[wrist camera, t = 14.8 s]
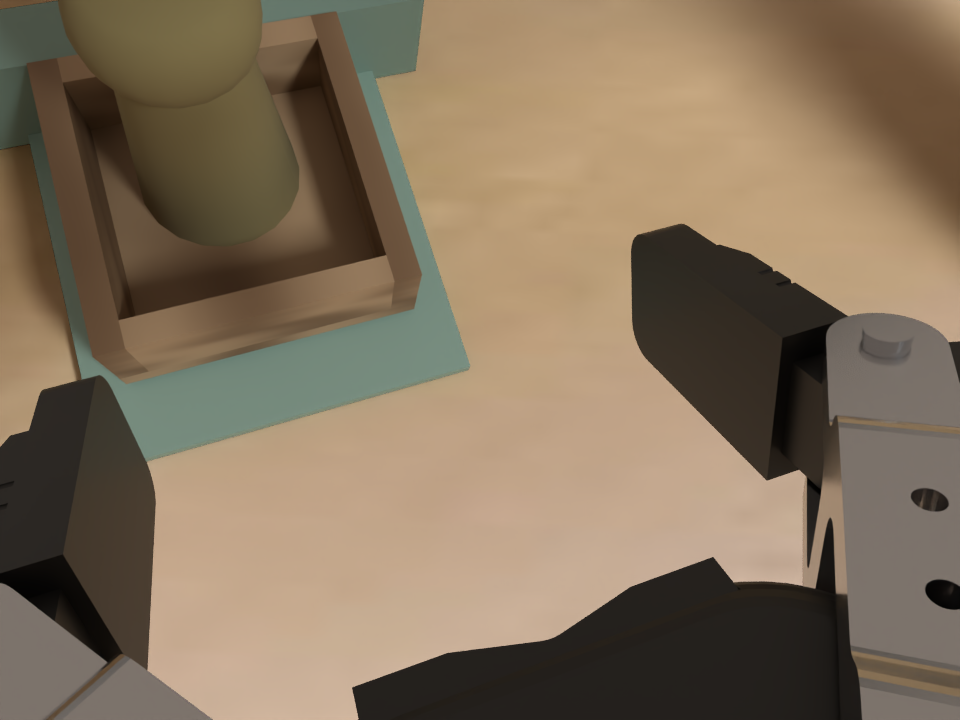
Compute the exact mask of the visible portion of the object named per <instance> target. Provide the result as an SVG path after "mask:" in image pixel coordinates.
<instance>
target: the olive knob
mask: <svg viewBox="0 0 960 720" xmlns="http://www.w3.org/2000/svg"><path fill="white" fill-rule="evenodd" d="M58 6H59V11H60V15H61V18H62V22H63V26H64V29H65V33H66V36H67V38H68V39H69V41H70V43H71V45H72V46H73V48H74V50H75V51H76V53H77V54H78V55H79V57H80V58H81V59H82V61H83V62H84V63H85V65H86V66H87V67H88V69H89V70H90V72H91V73H93V74H94V75H95V76H96V77H97V78H98V79H99V80H100V81H102V82H103V83H104V84H106V85H107V86H109V87H110V88H111V89H113V90H114V93H115V97H116V100H117V104H118V108H119V112H120V115H121V119H122V123H123V127H124V130H125V134H126V138H127V141H128V145H129V149H130V153H131V156H132V160H133V164H134V167H135V171H136V175H137V179H138V182H139V186H140V189H141V193H142V196H143V200H144V204H145V205H146V207H147V208H148V209H149V211H150V212H151V214H152V215H153V216H154V218H155V219H156V220H157V222H158V223H159V224H160V225H162V226H163V227H164V228H166V229H167V230H169V231H170V232H172V233H173V234H174V235H176V236H177V237H179V238H181V239H184V240H187V241H190V242H194V243H197V244H200V245H203V246H233V245H237V244H241V243H245V242H249V241H253V240H255V239H257V238H258V237H260V236H262V235H263V234H265V233H267V232H268V231H270V230H272V229H273V228H275V227H276V226H277V225H278V224H279V222H280V221H281V220H282V219H283V218H284V217H285V216H286V214H287V213H288V212H289V211H290V210H291V207H292V205H293V202H294V200H295V198H296V195H297V193H298V190H299V165H298V162H297V159H296V156H295V153H294V150H293V147H292V144H291V142H290V139H289V137H288V135H287V132H286V130H285V127H284V125H283V123H282V120H281V118H280V115H279V113H278V110H277V108H276V106H275V103H274V101H273V98H272V96H271V94H270V91H269V89H268V86H267V84H266V82H265V79H264V77H263V74H262V72H261V69H260V67H259V65H258V62H257V60H256V56H257V54H258V51H259V47H260V43H261V39H262V18H263V13H262V6H261V0H58Z"/></svg>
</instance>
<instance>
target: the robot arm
mask: <svg viewBox="0 0 960 720" xmlns="http://www.w3.org/2000/svg"><path fill="white" fill-rule="evenodd" d="M631 272H632V323H633V330H634V335H635V338H636V341H637V344H638V346H639V348H640V350H641V352H642V354H643V355H644V357H645V358H646V359H647V360H648V361H649V362H650V363H651V364H652V365H653V366H654V367H655V368H656V369H657V370H658V371H659V372H660V373H661V374H662V375H663V376H664V377H665V378H666V379H667V380H668V381H669V382H670V383H671V384H672V385H673V386H674V387H675V388H676V389H677V390H678V391H679V392H680V393H681V394H682V395H683V396H684V397H685V398H686V399H687V400H688V401H689V402H690V404H691V405H692V406H693V407H694V408H695V409H696V410H697V411H698V412H699V413H700V414H701V415H702V416H703V417H704V418H705V419H706V420H707V421H708V422H709V423H710V424H711V425H712V426H713V427H714V428H715V429H716V430H717V431H718V432H719V433H720V434H721V435H722V436H723V437H724V438H725V439H726V440H727V441H728V442H729V443H730V444H731V445H732V446H733V447H734V448H735V449H736V450H737V451H738V452H739V453H740V454H741V455H742V456H743V457H744V458H745V459H746V460H747V461H748V462H749V463H750V464H751V465H752V466H753V467H754V468H755V469H756V470H757V471H758V472H759V473H760V474H761V475H762V476H763V477H764V478H765V479H766V480H770V479H773V478H776V477H779V476H782V475H785V474H788V473H790V472H793V471H796V470H800V471H801V472H802V473H803V474H804V475H805V476H806V478H805V485H804V491H803V586H799V585H794V584H788V583H777V582H734V583H733V581H732V580H731V579H730V578H729V576H728V575H727V574H726V572H725V571H724V570H723V569H722V567H721V566H720V565H719V564H718V562H717V561H716V560H715V559H714V557H712V558H709V559H706V560H704V561H701V562H698V563H695V564H693V565H690V566H687V567H684V568H682V569H679V570H676V571H673V572H671V573H668V574H665V575H662V576H659V577H657V578H654V579H651V580H648V581H646V582H643V583H640V584H637V585H635V586H632V587H630V588H628V589H627V590H625V591H624V592H622V593H621V594H620V595H618V596H617V597H615V598H614V599H612V600H611V601H609V602H608V603H606V604H605V605H603V606H602V607H600V608H599V609H597V610H596V611H594V612H593V613H591V614H590V615H588V616H587V617H585V618H584V619H582V620H581V621H579V622H578V623H576V624H575V625H573V626H572V627H570V628H569V629H567V630H566V631H564V632H563V633H561V634H560V635H558V636H556V637H554V638H552V639H549V640H545V641H539V642H531V643H523V644H516V645H508V646H500V647H492V648H484V649H476V650H468V651H460V652H452V653H446V654H444V655H441V656H438V657H435V658H433V659H430V660H427V661H424V662H422V663H419V664H416V665H413V666H410V667H408V668H405V669H402V670H399V671H397V672H394V673H391V674H388V675H386V676H383V677H380V678H377V679H375V680H372V681H369V682H366V683H363V684H361V685H358V686H355V687H352V689H353V694H354V699H355V703H356V708H357V713H358V718H359V719H358V720H960V341H959V342H948V341H947V339H946V338H945V337H944V336H943V335H942V334H941V333H940V332H939V331H938V330H936V329H935V328H933V327H931V326H930V325H928V324H925V323H923V322H921V321H918V320H915V319H912V318H909V317H905V316H900V315H894V314H885V313H865V314H857V315H852V316H847V315H845V314H844V313H842V312H840V311H839V310H837V309H836V308H834V307H833V306H831V305H830V304H828V303H826V302H825V301H823V300H822V299H820V298H819V297H817V296H815V295H814V294H812V293H811V292H809V291H808V290H806V289H804V288H803V287H801V286H800V285H798V284H797V283H791V280H790V279H789V278H787V277H786V276H784V275H783V274H781V273H779V272H778V271H774V272H773V269H772V267H770V266H768V265H767V264H765V263H764V262H762V261H761V260H759V259H757V258H756V257H754V256H753V255H751V254H749V253H746V252H742V251H739V250H736V249H732V248H729V247H726V246H722V245H716V244H714V243H713V242H711V241H710V240H708V239H707V238H705V237H703V236H702V235H700V234H699V233H697V232H696V231H694V230H693V229H691V228H690V227H688V226H687V225H685V224H677V225H674V226H670V227H666V228H662V229H658V230H655V231H651V232H647V233H643V234H639V235H637V236H636V237H635V238H634V240H633V243H632V248H631ZM155 505H156V500H155V491H154V485H153V481H152V477H151V474H150V471H149V468H148V465H147V462H146V460H145V458H144V456H143V454H142V452H141V449H140V447H139V445H138V443H137V441H136V439H135V437H134V435H133V433H132V430H131V428H130V426H129V424H128V422H127V420H126V418H125V416H124V414H123V411H122V409H121V407H120V405H119V403H118V401H117V399H116V397H115V395H114V392H113V390H112V389H111V387H110V385H109V383H108V382H107V380H106V379H105V378H104V377H103V376H101V375H97V376H94V377H90V378H86V379H82V380H78V381H75V382H71V383H67V384H63V385H59V386H56V387H52V388H48V389H44V390H42V391H41V393H40V395H39V398H38V402H37V405H36V409H35V412H34V416H33V419H32V422H31V426H30V429H29V431H26V432H22V433H19V434H15V435H11V436H10V437H9V438H8V439H7V440H6V441H5V442H4V443H3V445H2V446H1V447H0V720H213V719H211V718H210V717H209V716H207V715H206V714H205V713H203V712H202V711H200V710H199V709H198V708H196V707H195V706H194V705H192V704H191V703H190V702H188V701H187V700H186V699H184V698H183V697H182V696H180V695H179V694H178V693H176V692H175V691H174V690H172V689H171V688H170V687H168V686H167V685H166V684H164V683H163V682H162V681H160V680H159V679H158V678H156V677H155V676H154V675H152V674H151V673H150V672H148V671H147V667H148V646H149V626H150V606H151V586H152V566H153V546H154V525H155Z"/></svg>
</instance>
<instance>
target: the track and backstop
mask: <svg viewBox="0 0 960 720" xmlns="http://www.w3.org/2000/svg"><path fill="white" fill-rule="evenodd" d="M423 4H424V0H261V6H262V13H263V18H262V24H263V23H269V22H275V21H281V20H287V19H293V18H299V17H305V16H311V15H317V14H323V13H329V12H335V11H337V15H338V18H339V21H340V24H341V27H342V30H343V33H344V36H345V39H346V42H347V45H348V48H349V51H350V54H351V58H352V61H353V64H354V67H355V70H356V73H357V76H358V79H359V82H360V85H361V88H362V91H363V94H364V97H365V101H366V104H367V107H368V110H369V113H370V116H371V119H372V122H373V125H374V128H375V131H376V134H377V137H378V140H379V144H380V147H381V150H382V153H383V156H384V159H385V162H386V165H387V168H388V171H389V174H390V177H391V180H392V183H393V187H394V190H395V193H396V196H397V199H398V202H399V205H400V208H401V211H402V214H403V217H404V220H405V223H406V226H407V229H408V233H409V236H410V239H411V242H412V245H413V248H414V251H415V254H416V257H417V260H418V263H419V266H420V269H421V272H422V277H421V281H420V285H419V290H418V294H417V299H416V303H415V307H414V309H412V310H408V311H404V312H401V313H397V314H393V315H389V316H385V317H382V318H378V319H374V320H370V321H366V322H362V323H359V324H355V325H351V326H347V327H343V328H339V329H336V330H332V331H328V332H324V333H320V334H317V335H313V336H309V337H305V338H301V339H297V340H294V341H290V342H286V343H282V344H278V345H274V346H271V347H267V348H263V349H259V350H255V351H252V352H248V353H244V354H240V355H236V356H232V357H229V358H225V359H221V360H217V361H213V362H209V363H206V364H202V365H198V366H194V367H190V368H187V369H183V370H179V371H175V372H171V373H167V374H164V375H160V376H156V377H152V378H148V379H144V380H141V381H137V382H133V383H129V384H125V383H124V382H123V381H122V380H120V379H119V378H118V377H117V376H115V375H114V374H113V373H112V372H111V371H109V370H108V369H107V368H106V367H104V366H103V365H102V364H101V363H99V362H98V361H97V360H96V359H94V358H93V357H92V352H91V348H90V343H89V339H88V334H87V330H86V326H85V321H84V317H83V312H82V308H81V303H80V299H79V295H78V290H77V286H76V281H75V277H74V272H73V268H72V264H71V259H70V255H69V250H68V246H67V241H66V237H65V233H64V228H63V224H62V219H61V215H60V210H59V206H58V202H57V197H56V193H55V188H54V184H53V179H52V175H51V171H50V166H49V162H48V157H47V153H46V148H45V144H44V139H43V135H42V131H41V126H40V122H39V117H38V113H37V108H36V104H35V100H34V95H33V91H32V86H31V82H30V77H29V73H28V69H27V64H26V63H30V62H36V61H42V60H48V59H54V58H60V57H66V56H72V55H78V54H77V53H76V51H75V50H74V48H73V46H72V45H71V43H70V41H69V39H68V38H67V36H66V33H65V29H64V26H63V22H62V18H61V15H60V11H59V6H58V1H52V2H46V3H39V4H33V5H26V6H19V7H13V8H6V9H0V149H5V148H10V147H15V146H21V145H26V144H30V147H31V151H32V156H33V160H34V165H35V169H36V174H37V178H38V183H39V188H40V192H41V197H42V201H43V206H44V210H45V215H46V219H47V224H48V228H49V233H50V237H51V242H52V246H53V251H54V255H55V260H56V264H57V269H58V273H59V278H60V282H61V287H62V291H63V296H64V300H65V305H66V310H67V314H68V319H69V323H70V328H71V332H72V337H73V341H74V346H75V350H76V355H77V359H78V364H79V368H80V373H81V377H82V379H86V378H90V377H94V376H97V375H101V376H103V377H104V378H105V379H106V380H107V382H108V383H109V385H110V387H111V389H112V390H113V392H114V395H115V397H116V399H117V401H118V403H119V405H120V407H121V409H122V411H123V414H124V416H125V418H126V420H127V422H128V424H129V426H130V428H131V430H132V433H133V435H134V437H135V439H136V441H137V443H138V445H139V447H140V449H141V452H142V454H143V456H144V458H145V460H146V462H147V461H150V460H154V459H157V458H161V457H164V456H168V455H171V454H175V453H178V452H182V451H185V450H189V449H192V448H196V447H199V446H203V445H206V444H210V443H213V442H217V441H220V440H224V439H227V438H231V437H234V436H238V435H241V434H245V433H248V432H252V431H256V430H259V429H263V428H266V427H270V426H273V425H277V424H280V423H284V422H287V421H291V420H294V419H298V418H301V417H305V416H308V415H312V414H315V413H319V412H322V411H326V410H329V409H333V408H336V407H340V406H343V405H347V404H350V403H354V402H357V401H361V400H364V399H368V398H371V397H375V396H378V395H382V394H386V393H389V392H393V391H396V390H400V389H403V388H407V387H410V386H414V385H417V384H421V383H424V382H428V381H431V380H435V379H438V378H442V377H445V376H449V375H452V374H456V373H459V372H463V371H466V370H468V369H469V368H470V364H469V361H468V358H467V355H466V352H465V349H464V346H463V343H462V340H461V337H460V334H459V331H458V328H457V325H456V322H455V319H454V316H453V313H452V310H451V307H450V304H449V301H448V298H447V295H446V291H445V288H444V285H443V282H442V279H441V276H440V273H439V270H438V267H437V264H436V261H435V258H434V255H433V252H432V249H431V246H430V243H429V240H428V237H427V234H426V231H425V228H424V225H423V222H422V219H421V216H420V213H419V210H418V207H417V204H416V201H415V198H414V195H413V192H412V189H411V186H410V183H409V180H408V177H407V174H406V171H405V168H404V164H403V161H402V158H401V155H400V152H399V149H398V146H397V143H396V140H395V137H394V134H393V131H392V128H391V125H390V122H389V119H388V116H387V113H386V110H385V107H384V104H383V101H382V98H381V95H380V92H379V89H378V86H377V83H376V80H375V78H380V77H385V76H390V75H395V74H401V73H406V72H411V71H415V70H416V62H417V54H418V46H419V37H420V29H421V21H422V12H423Z"/></svg>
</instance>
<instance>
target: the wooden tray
mask: <svg viewBox="0 0 960 720" xmlns="http://www.w3.org/2000/svg"><path fill="white" fill-rule="evenodd" d="M256 60H257V62H258V65H259V67H260V69H261V72H262V74H263V77H264V79H265V82H266V84H267V86H268V89H269V91H270V94H271V96H272V98H273V101H274V103H275V106H276V108H277V110H278V113H279V115H280V118H281V120H282V123H283V125H284V127H285V130H286V132H287V135H288V137H289V139H290V142H291V144H292V147H293V150H294V153H295V156H296V159H297V162H298V165H299V190H298V193H297V195H296V198H295V200H294V202H293V205H292V207H291V210H290V211H289V212H288V213H287V214H286V216H285V217H284V218H283V219H282V220H281V221H280V222H279V224H278V225H277V226H276V227H275V228H273V229H272V230H270V231H268V232H267V233H265V234H263V235H262V236H260V237H258V238H257V239H255V240H253V241H249V242H245V243H241V244H237V245H233V246H203V245H200V244H197V243H194V242H190V241H187V240H184V239H181V238H179V237H177V236H176V235H174V234H173V233H172V232H170V231H169V230H167V229H166V228H164V227H163V226H162V225H160V224H159V223H158V222H157V220H156V219H155V218H154V216H153V215H152V214H151V212H150V211H149V209H148V208H147V207H146V205H145V204H144V200H143V196H142V193H141V189H140V186H139V182H138V179H137V175H136V171H135V167H134V164H133V160H132V156H131V153H130V149H129V145H128V141H127V138H126V134H125V130H124V127H123V123H122V119H121V115H120V112H119V108H118V104H117V100H116V97H115V93H114V90H113V89H111V88H110V87H109V86H107V85H106V84H104V83H103V82H102V81H100V80H99V79H98V78H97V77H96V76H95V75H94V74H93V73H91V72H90V70H89V69H88V67H87V66H86V65H85V63H84V62H83V61H82V59H81V58H80V57H79V55H72V56H66V57H60V58H54V59H48V60H42V61H36V62H30V63H26V64H27V69H28V73H29V77H30V82H31V86H32V91H33V95H34V100H35V104H36V108H37V113H38V117H39V122H40V126H41V131H42V135H43V139H44V144H45V148H46V153H47V157H48V162H49V166H50V171H51V175H52V179H53V184H54V188H55V193H56V197H57V202H58V206H59V210H60V215H61V219H62V224H63V228H64V233H65V237H66V241H67V246H68V250H69V255H70V259H71V264H72V268H73V272H74V277H75V281H76V286H77V290H78V295H79V299H80V303H81V308H82V312H83V317H84V321H85V326H86V330H87V334H88V339H89V343H90V348H91V352H92V357H93V358H94V359H96V360H97V361H98V362H99V363H101V364H102V365H103V366H104V367H106V368H107V369H108V370H109V371H111V372H112V373H113V374H114V375H115V376H117V377H118V378H119V379H120V380H122V381H123V382H124V383H125V384H129V383H133V382H137V381H141V380H144V379H148V378H152V377H156V376H160V375H164V374H167V373H171V372H175V371H179V370H183V369H187V368H190V367H194V366H198V365H202V364H206V363H209V362H213V361H217V360H221V359H225V358H229V357H232V356H236V355H240V354H244V353H248V352H252V351H255V350H259V349H263V348H267V347H271V346H274V345H278V344H282V343H286V342H290V341H294V340H297V339H301V338H305V337H309V336H313V335H317V334H320V333H324V332H328V331H332V330H336V329H339V328H343V327H347V326H351V325H355V324H359V323H362V322H366V321H370V320H374V319H378V318H382V317H385V316H389V315H393V314H397V313H401V312H404V311H408V310H412V309H414V307H415V303H416V299H417V294H418V290H419V285H420V281H421V277H422V272H421V269H420V266H419V263H418V260H417V257H416V254H415V251H414V248H413V245H412V242H411V239H410V236H409V233H408V229H407V226H406V223H405V220H404V217H403V214H402V211H401V208H400V205H399V202H398V199H397V196H396V193H395V190H394V187H393V183H392V180H391V177H390V174H389V171H388V168H387V165H386V162H385V159H384V156H383V153H382V150H381V147H380V144H379V140H378V137H377V134H376V131H375V128H374V125H373V122H372V119H371V116H370V113H369V110H368V107H367V104H366V101H365V97H364V94H363V91H362V88H361V85H360V82H359V79H358V76H357V73H356V70H355V67H354V64H353V61H352V58H351V54H350V51H349V48H348V45H347V42H346V39H345V36H344V33H343V30H342V27H341V24H340V21H339V18H338V15H337V11H335V12H329V13H323V14H317V15H311V16H305V17H299V18H293V19H287V20H281V21H275V22H269V23H263V24H262V39H261V43H260V47H259V51H258V54H257V56H256Z"/></svg>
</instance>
